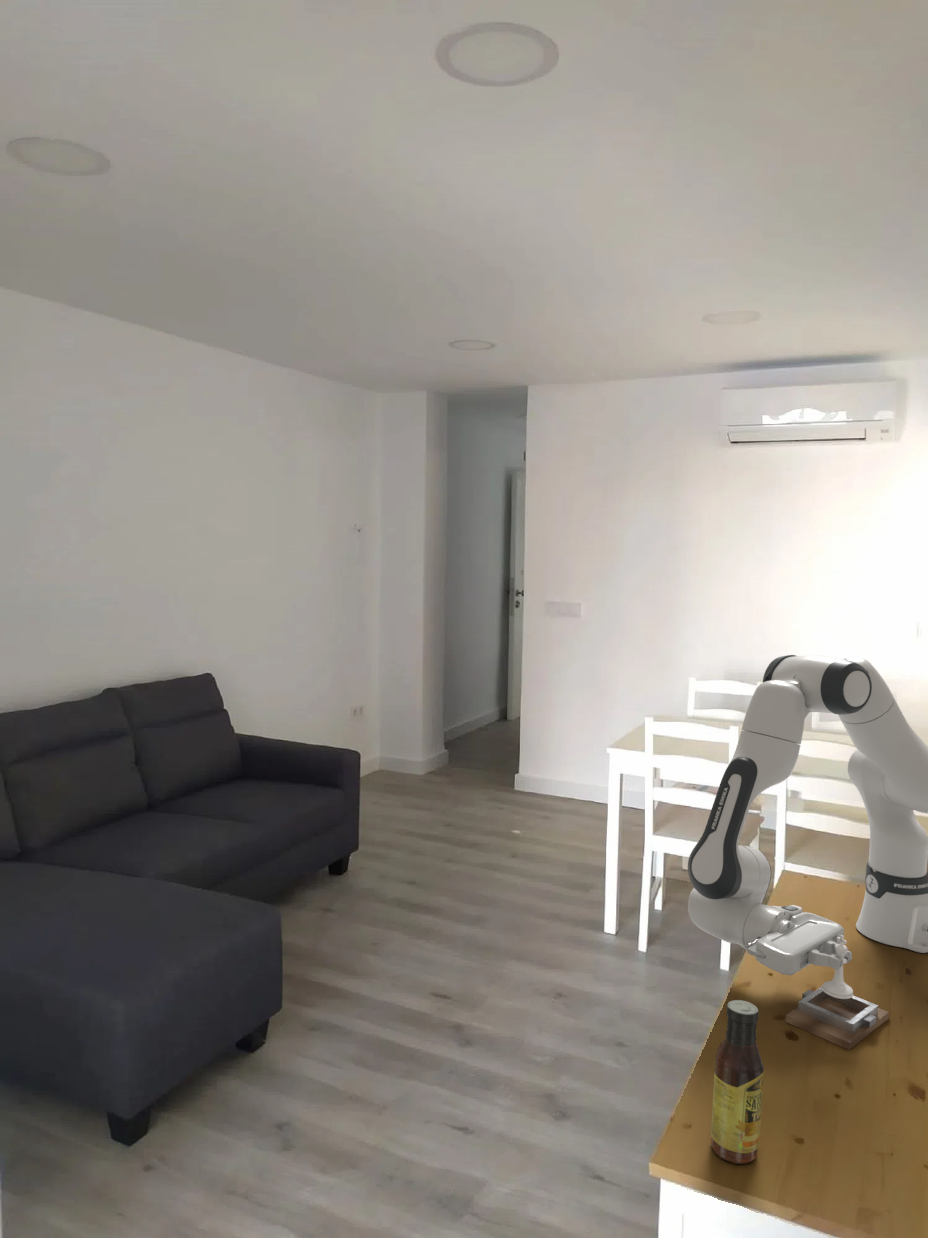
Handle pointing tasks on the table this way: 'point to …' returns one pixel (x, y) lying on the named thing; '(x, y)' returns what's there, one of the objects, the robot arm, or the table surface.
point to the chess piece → (839, 976)
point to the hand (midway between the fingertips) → (845, 961)
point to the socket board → (833, 1032)
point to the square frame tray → (850, 1026)
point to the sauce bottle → (738, 1087)
